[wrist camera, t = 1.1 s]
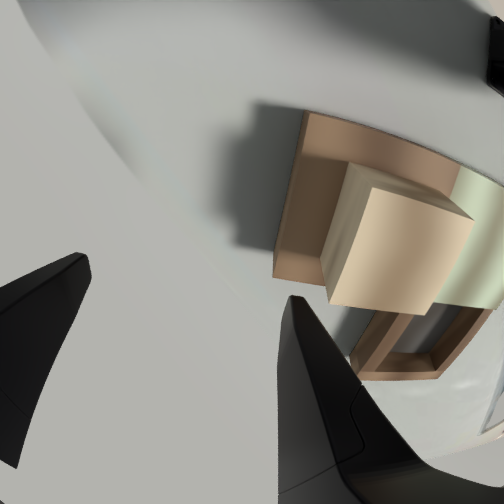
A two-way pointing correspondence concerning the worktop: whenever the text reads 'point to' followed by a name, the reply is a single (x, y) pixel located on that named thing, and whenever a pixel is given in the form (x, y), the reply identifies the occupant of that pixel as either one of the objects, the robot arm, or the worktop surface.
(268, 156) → the worktop surface
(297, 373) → the robot arm
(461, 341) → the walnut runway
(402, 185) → the beech block
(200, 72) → the worktop surface
